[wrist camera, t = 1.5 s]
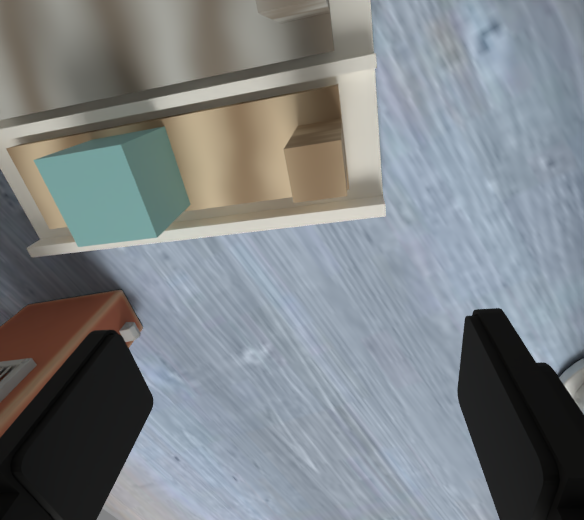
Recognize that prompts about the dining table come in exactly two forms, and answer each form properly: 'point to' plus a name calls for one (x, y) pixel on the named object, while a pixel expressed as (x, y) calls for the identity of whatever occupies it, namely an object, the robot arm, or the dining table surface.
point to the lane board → (225, 91)
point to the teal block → (116, 187)
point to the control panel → (53, 342)
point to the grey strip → (143, 45)
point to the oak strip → (231, 152)
